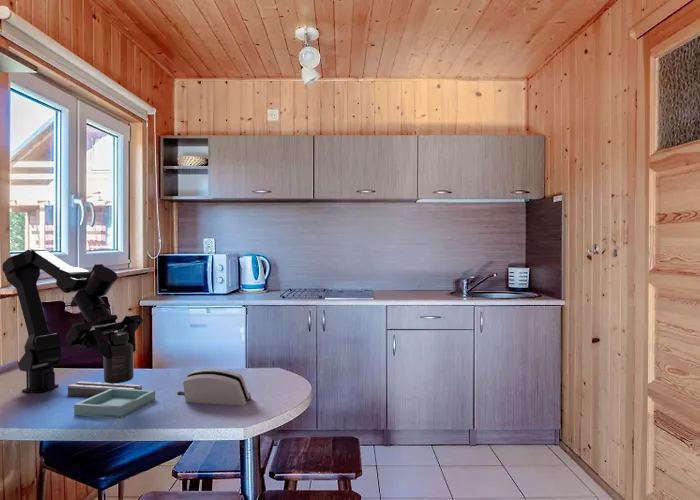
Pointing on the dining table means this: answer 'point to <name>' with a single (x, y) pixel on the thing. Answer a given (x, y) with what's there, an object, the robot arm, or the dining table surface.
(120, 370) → the supplement bottle
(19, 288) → the robot arm
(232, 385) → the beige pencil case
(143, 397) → the tray
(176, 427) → the dining table surface
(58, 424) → the dining table surface
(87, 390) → the t-slot rail
